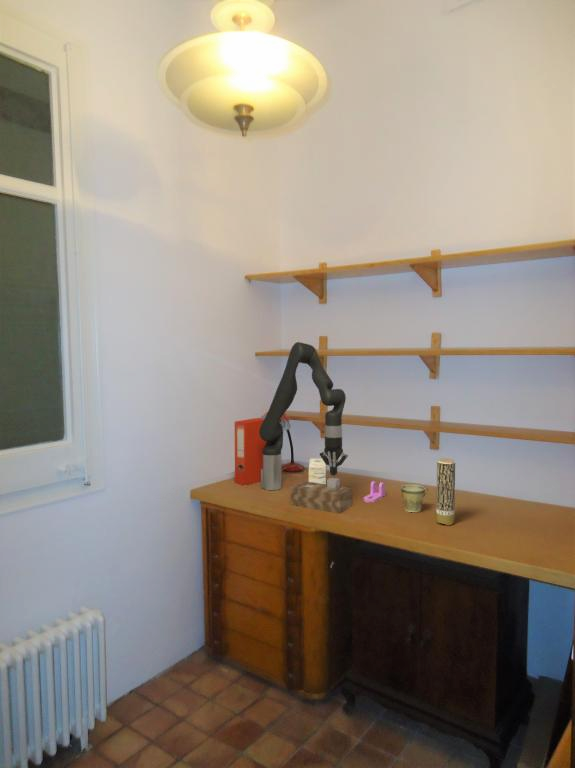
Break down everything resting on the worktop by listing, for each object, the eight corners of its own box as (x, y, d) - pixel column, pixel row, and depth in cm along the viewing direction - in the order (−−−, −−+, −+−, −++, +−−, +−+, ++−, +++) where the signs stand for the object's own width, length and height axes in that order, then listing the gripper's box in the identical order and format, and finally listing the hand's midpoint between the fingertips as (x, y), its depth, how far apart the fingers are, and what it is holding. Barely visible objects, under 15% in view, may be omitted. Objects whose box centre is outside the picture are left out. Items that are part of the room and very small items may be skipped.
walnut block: (290, 504, 232) (290, 487, 231) (303, 498, 242) (303, 481, 241) (339, 513, 219) (340, 494, 219) (351, 505, 229) (351, 488, 229)
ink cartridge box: (308, 490, 255) (308, 460, 254) (308, 487, 260) (308, 458, 259) (325, 490, 255) (325, 460, 253) (326, 487, 259) (326, 458, 258)
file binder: (269, 479, 276) (268, 419, 274) (246, 486, 263) (245, 422, 261) (258, 476, 282) (257, 417, 279) (235, 483, 269) (234, 421, 266)
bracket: (373, 494, 247) (374, 480, 247) (384, 496, 244) (384, 481, 243) (361, 501, 236) (361, 486, 236) (372, 503, 233) (372, 488, 233)
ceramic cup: (410, 515, 216) (411, 492, 215) (395, 509, 225) (396, 486, 224) (435, 511, 221) (435, 488, 220) (420, 505, 230) (420, 482, 229)
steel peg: (327, 495, 226) (327, 479, 226) (331, 493, 230) (331, 477, 229) (335, 496, 224) (335, 480, 224) (339, 494, 228) (339, 478, 227)
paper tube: (434, 520, 210) (435, 458, 208) (451, 520, 210) (452, 458, 208) (438, 526, 203) (439, 462, 202) (456, 526, 203) (457, 462, 201)
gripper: (315, 435, 225) (316, 475, 227) (343, 438, 219) (343, 478, 220) (323, 433, 232) (323, 471, 233) (351, 435, 225) (351, 475, 226)
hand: (333, 475), depth 226 cm, fingers closed
